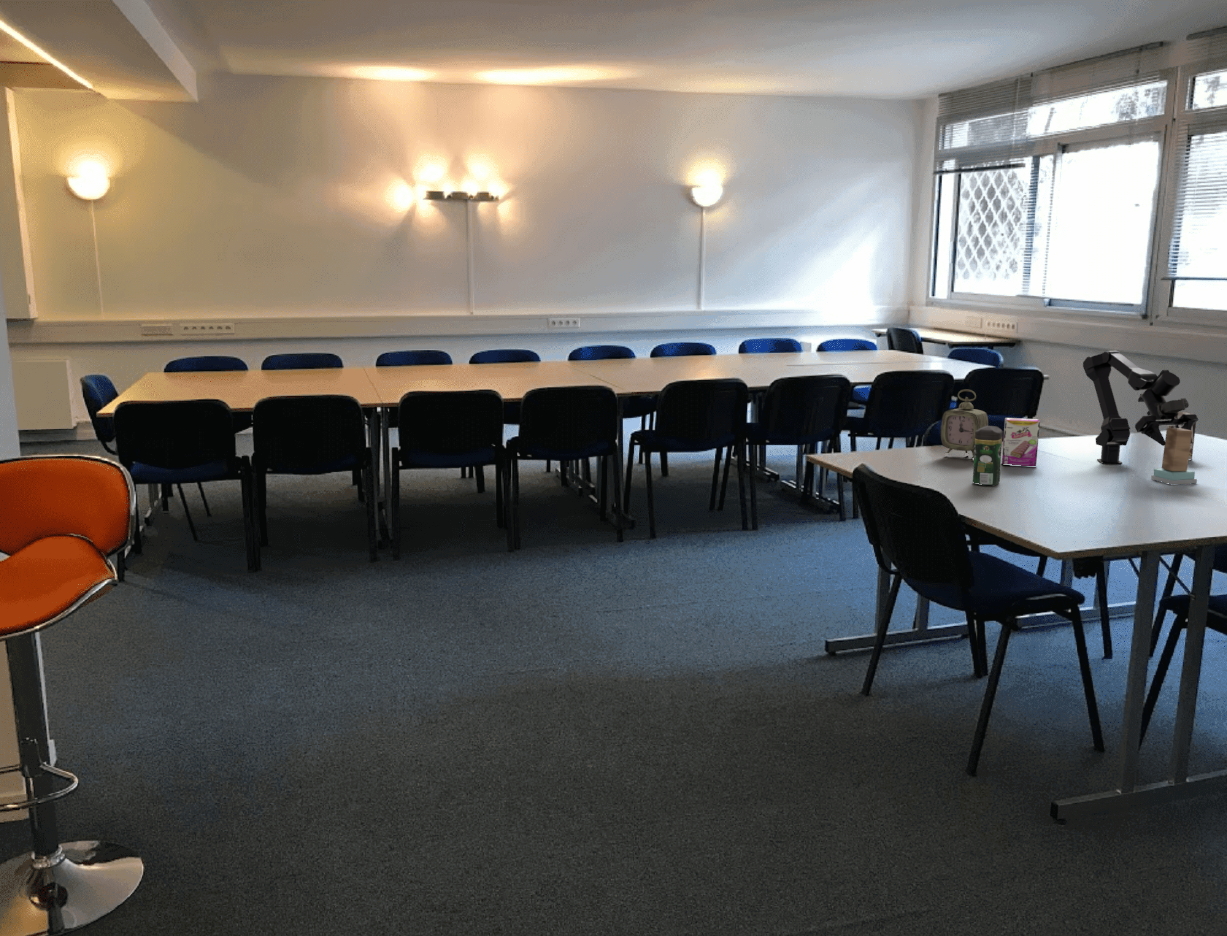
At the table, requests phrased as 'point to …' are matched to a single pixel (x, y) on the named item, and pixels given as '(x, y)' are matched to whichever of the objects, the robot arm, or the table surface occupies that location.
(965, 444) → the tabletop clock
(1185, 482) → the tower base block
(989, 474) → the coffee jar
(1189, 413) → the coffee box
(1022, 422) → the candy bar box
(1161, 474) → the tower top block
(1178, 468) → the walnut pillar
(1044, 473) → the table surface
